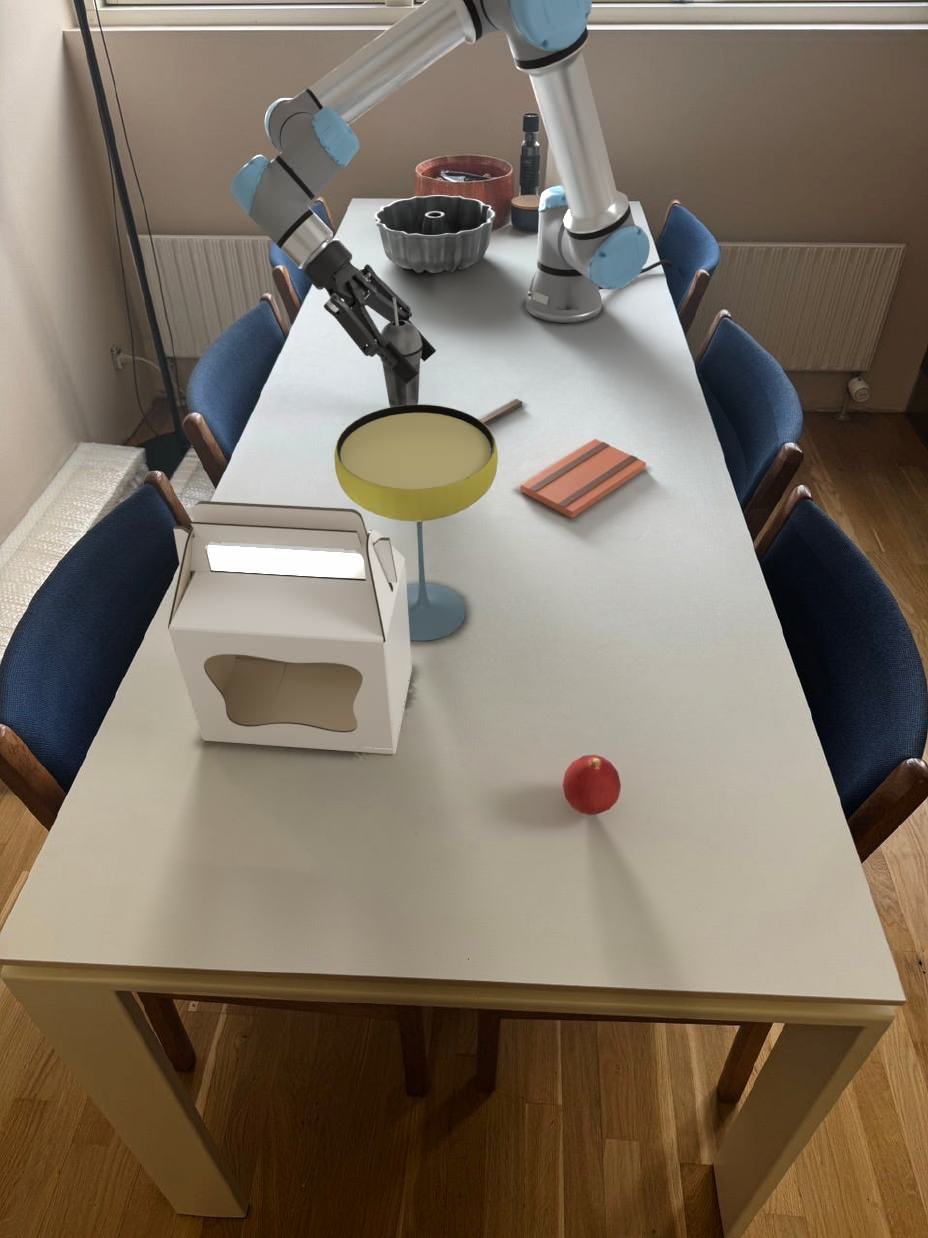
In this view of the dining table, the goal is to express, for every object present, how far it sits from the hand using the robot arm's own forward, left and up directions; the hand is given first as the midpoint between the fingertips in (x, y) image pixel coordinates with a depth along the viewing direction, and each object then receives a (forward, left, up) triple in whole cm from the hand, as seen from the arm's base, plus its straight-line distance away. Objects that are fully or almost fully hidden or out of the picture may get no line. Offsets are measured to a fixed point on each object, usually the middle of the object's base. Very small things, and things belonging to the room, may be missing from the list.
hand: (421, 366), depth 145 cm
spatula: (-4, +8, -9) cm, 13 cm away
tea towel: (-4, +31, -9) cm, 33 cm away
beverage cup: (+1, -3, -9) cm, 9 cm away
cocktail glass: (+34, +35, -10) cm, 49 cm away
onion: (+43, +69, -10) cm, 82 cm away
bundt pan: (-50, -48, -10) cm, 70 cm away
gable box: (+54, +37, -10) cm, 66 cm away
